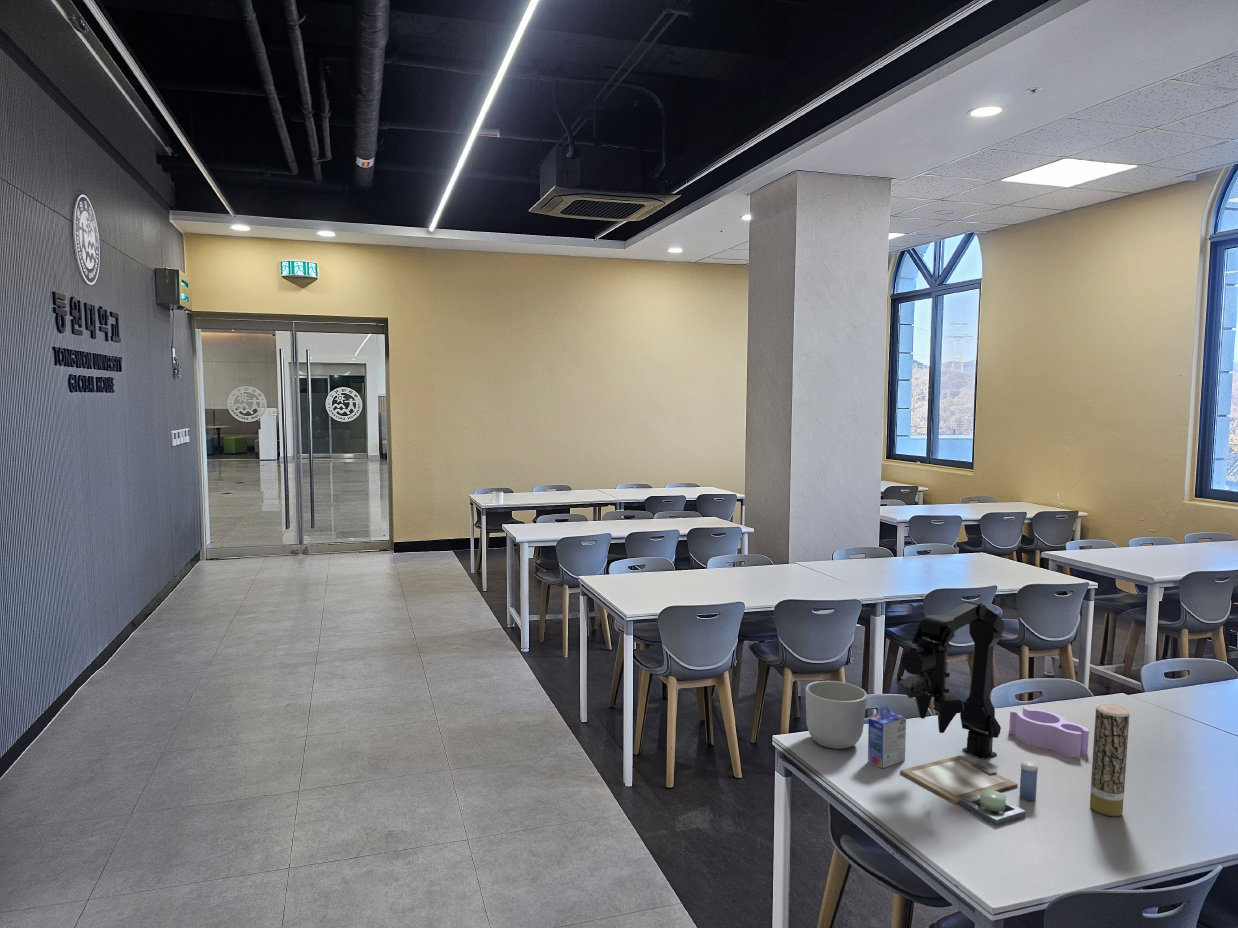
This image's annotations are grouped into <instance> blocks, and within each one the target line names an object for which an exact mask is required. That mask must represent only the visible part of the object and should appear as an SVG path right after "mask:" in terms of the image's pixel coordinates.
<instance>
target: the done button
mask: <svg viewBox="0 0 1238 928" xmlns="http://www.w3.org/2000/svg"><path fill="white" fill-rule="evenodd" d="M1006 801H1007V797H1006V795H1005V794H1004V793H1001V792H997V791H994V790H982V791H981V792H980V805H979V806H981V808H983V809H984V810H987V811H992V812H996V813H997V812H999V813H1000V812H1004V811H1006V810H1005V809H1006Z"/></svg>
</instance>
